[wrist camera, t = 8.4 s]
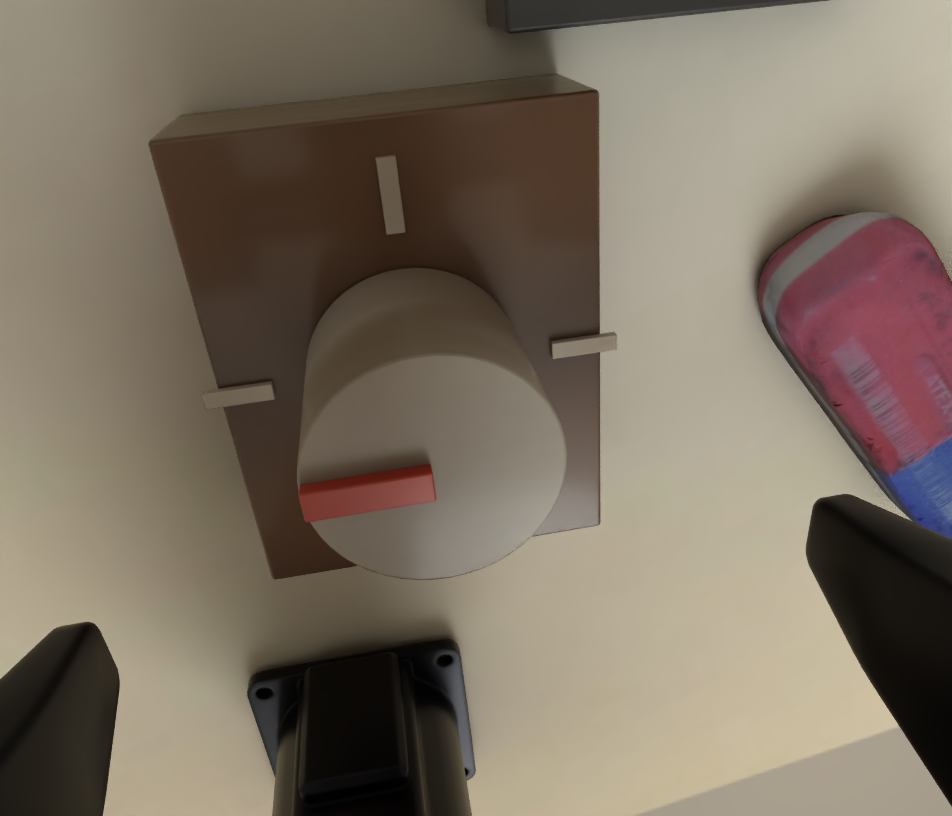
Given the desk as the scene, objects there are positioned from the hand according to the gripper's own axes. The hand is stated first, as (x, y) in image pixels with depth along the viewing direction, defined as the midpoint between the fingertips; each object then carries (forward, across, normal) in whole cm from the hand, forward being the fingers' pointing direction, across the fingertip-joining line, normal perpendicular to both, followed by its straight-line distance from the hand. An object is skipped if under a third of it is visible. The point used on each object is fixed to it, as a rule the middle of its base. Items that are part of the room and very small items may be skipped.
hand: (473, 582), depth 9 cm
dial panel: (+10, 0, 0) cm, 10 cm away
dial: (+7, 0, 0) cm, 7 cm away
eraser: (+10, -13, +4) cm, 17 cm away
